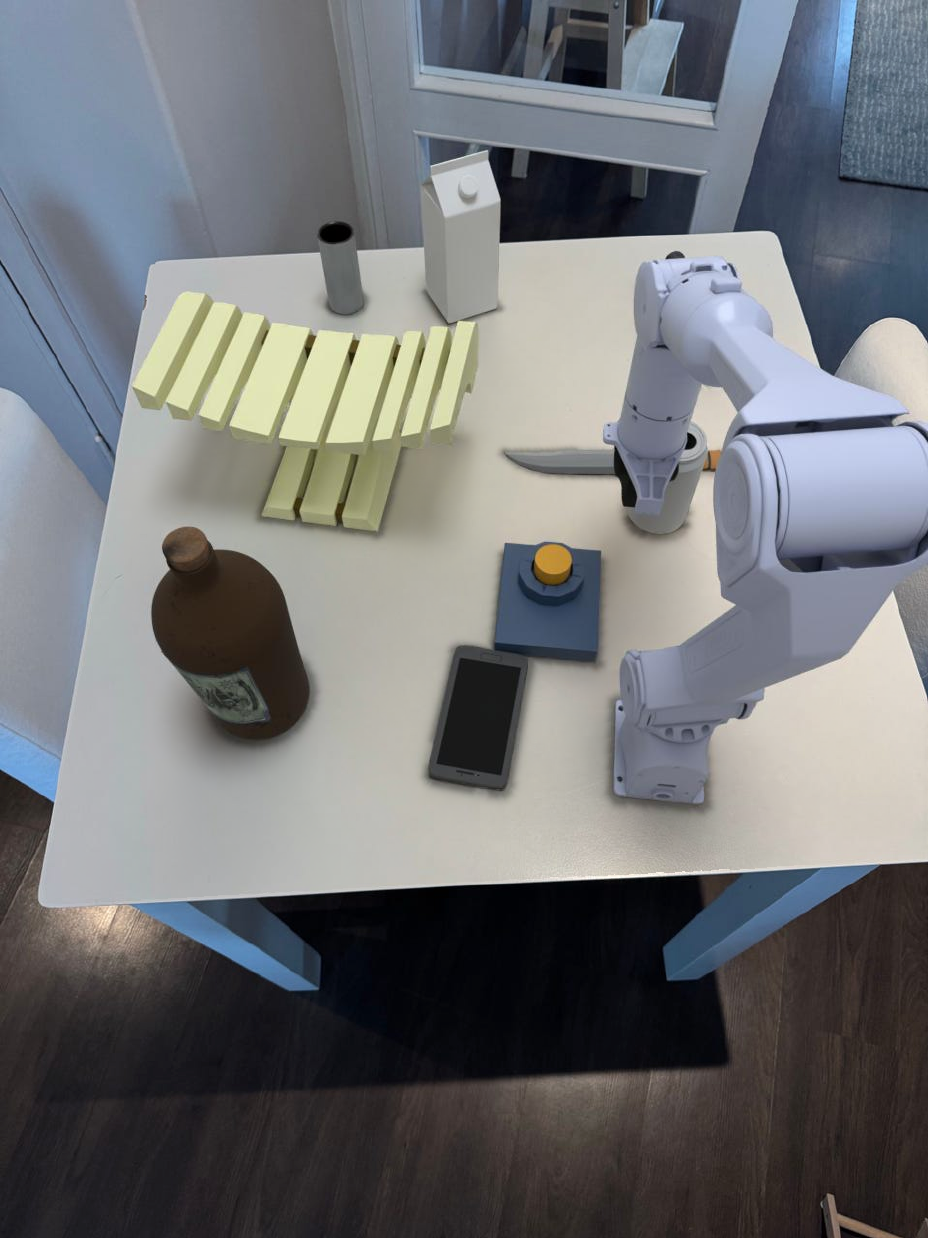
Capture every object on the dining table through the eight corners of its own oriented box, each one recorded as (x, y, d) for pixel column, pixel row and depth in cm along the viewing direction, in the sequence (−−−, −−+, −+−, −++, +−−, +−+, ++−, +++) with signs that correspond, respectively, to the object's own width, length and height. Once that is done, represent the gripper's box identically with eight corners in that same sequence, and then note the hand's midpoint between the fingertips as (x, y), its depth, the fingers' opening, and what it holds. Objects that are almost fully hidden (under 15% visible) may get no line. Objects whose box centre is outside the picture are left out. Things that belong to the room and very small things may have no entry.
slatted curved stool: (477, 432, 98) (478, 306, 83) (454, 541, 90) (450, 424, 75) (232, 403, 101) (188, 275, 85) (188, 506, 93) (131, 385, 77)
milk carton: (426, 292, 111) (417, 149, 94) (474, 276, 112) (474, 134, 96) (448, 325, 107) (443, 183, 91) (497, 308, 109) (502, 166, 93)
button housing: (595, 662, 82) (600, 642, 79) (494, 653, 83) (494, 633, 79) (598, 562, 88) (603, 539, 85) (504, 554, 89) (505, 531, 86)
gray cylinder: (322, 308, 109) (309, 237, 100) (341, 287, 111) (329, 216, 103) (352, 318, 108) (341, 247, 99) (370, 298, 110) (361, 226, 101)
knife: (504, 476, 94) (504, 441, 96) (504, 483, 95) (504, 448, 97) (778, 475, 92) (771, 439, 95) (775, 482, 93) (768, 447, 96)
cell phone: (529, 658, 82) (529, 655, 82) (505, 792, 75) (506, 789, 75) (456, 646, 83) (456, 642, 82) (426, 777, 76) (425, 774, 76)
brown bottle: (229, 638, 84) (145, 474, 63) (330, 658, 83) (279, 498, 61) (189, 734, 79) (81, 591, 57) (295, 757, 78) (226, 620, 56)
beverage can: (682, 542, 90) (709, 467, 79) (622, 532, 90) (641, 457, 80) (686, 496, 93) (713, 418, 82) (628, 487, 93) (647, 409, 83)
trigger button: (568, 587, 83) (571, 575, 81) (532, 584, 83) (533, 572, 81) (570, 557, 84) (572, 545, 83) (535, 554, 85) (536, 542, 83)
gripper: (612, 331, 71) (593, 441, 83) (609, 459, 64) (588, 560, 76) (696, 336, 71) (665, 446, 83) (702, 466, 64) (667, 567, 75)
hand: (633, 501), depth 79 cm, fingers closed
